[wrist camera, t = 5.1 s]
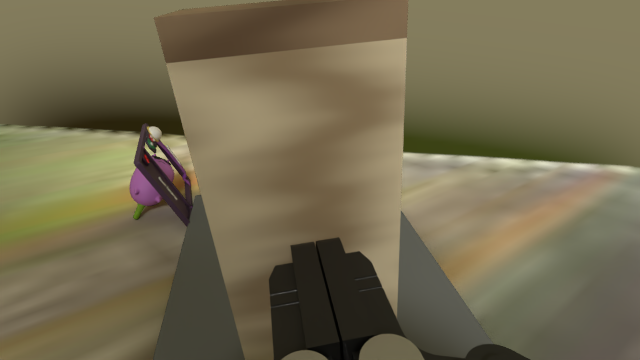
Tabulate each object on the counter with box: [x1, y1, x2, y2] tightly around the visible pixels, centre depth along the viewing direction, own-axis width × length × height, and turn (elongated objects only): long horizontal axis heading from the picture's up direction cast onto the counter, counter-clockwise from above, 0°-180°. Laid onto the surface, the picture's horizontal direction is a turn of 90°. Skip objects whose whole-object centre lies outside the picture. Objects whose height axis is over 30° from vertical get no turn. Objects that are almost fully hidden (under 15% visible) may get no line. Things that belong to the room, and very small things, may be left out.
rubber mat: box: [153, 195, 493, 360], centre depth 23 cm, size 16×24×1 cm
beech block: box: [154, 0, 408, 360], centre depth 14 cm, size 6×4×15 cm, turn 100°
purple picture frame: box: [130, 123, 193, 226], centre depth 30 cm, size 7×5×9 cm
